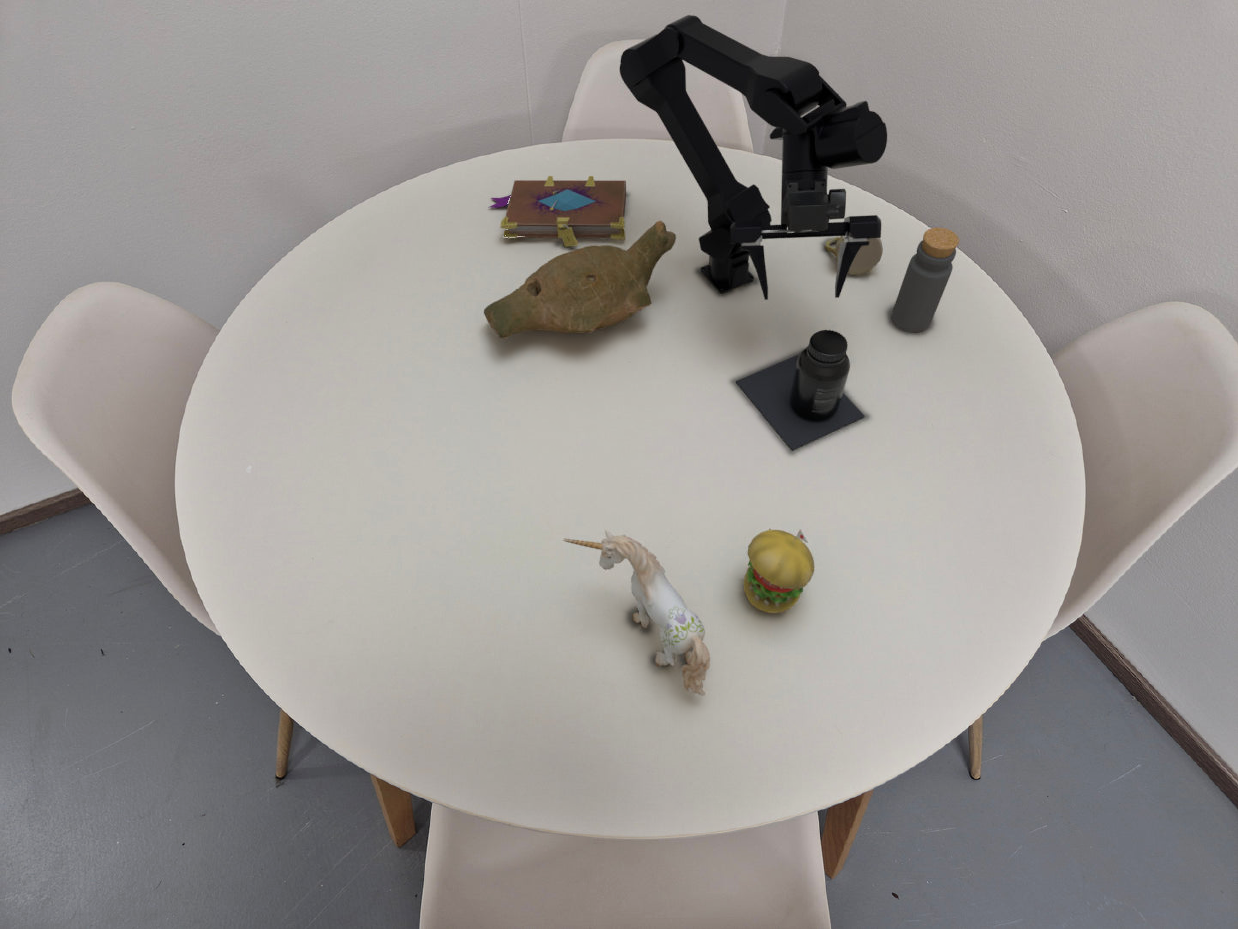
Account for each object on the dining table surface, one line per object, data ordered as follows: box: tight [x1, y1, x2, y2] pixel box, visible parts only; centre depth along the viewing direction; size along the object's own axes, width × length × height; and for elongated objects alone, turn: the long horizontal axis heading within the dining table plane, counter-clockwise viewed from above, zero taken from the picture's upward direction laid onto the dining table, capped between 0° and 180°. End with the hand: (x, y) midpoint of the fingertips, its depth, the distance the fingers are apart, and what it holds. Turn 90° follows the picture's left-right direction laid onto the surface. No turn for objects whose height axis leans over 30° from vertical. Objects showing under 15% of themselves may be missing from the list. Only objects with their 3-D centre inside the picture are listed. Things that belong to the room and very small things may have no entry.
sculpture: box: [483, 220, 677, 340], centre depth 115 cm, size 14×16×30 cm
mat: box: [735, 353, 865, 451], centre depth 107 cm, size 14×12×1 cm
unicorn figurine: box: [562, 529, 711, 697], centre depth 83 cm, size 7×20×13 cm, turn 46°
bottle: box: [891, 227, 960, 333], centre depth 110 cm, size 6×6×15 cm
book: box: [488, 175, 627, 247], centre depth 131 cm, size 16×25×5 cm, turn 87°
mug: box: [824, 236, 884, 275], centre depth 122 cm, size 8×10×10 cm
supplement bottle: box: [790, 329, 851, 421], centre depth 102 cm, size 7×7×12 cm
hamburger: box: [742, 528, 815, 614], centre depth 86 cm, size 8×7×12 cm
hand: (801, 298), depth 101 cm, fingers open, 9 cm apart
